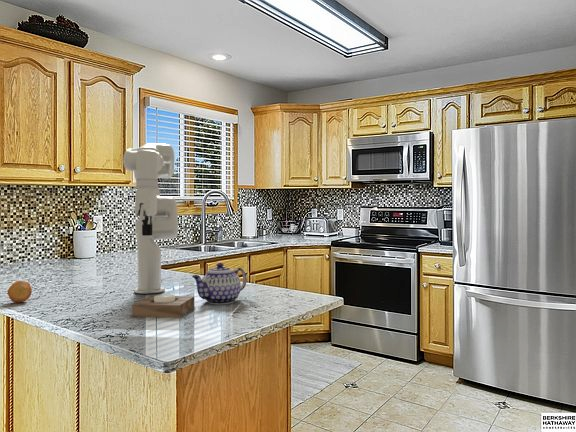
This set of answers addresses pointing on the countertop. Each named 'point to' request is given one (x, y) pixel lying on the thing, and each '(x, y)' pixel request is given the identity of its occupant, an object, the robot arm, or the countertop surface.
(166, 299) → the button
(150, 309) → the housing
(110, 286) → the countertop surface
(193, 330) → the countertop surface
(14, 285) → the fruit
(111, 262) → the countertop surface
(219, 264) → the teapot
